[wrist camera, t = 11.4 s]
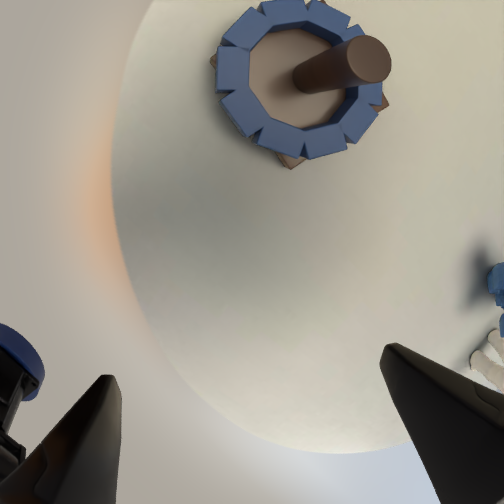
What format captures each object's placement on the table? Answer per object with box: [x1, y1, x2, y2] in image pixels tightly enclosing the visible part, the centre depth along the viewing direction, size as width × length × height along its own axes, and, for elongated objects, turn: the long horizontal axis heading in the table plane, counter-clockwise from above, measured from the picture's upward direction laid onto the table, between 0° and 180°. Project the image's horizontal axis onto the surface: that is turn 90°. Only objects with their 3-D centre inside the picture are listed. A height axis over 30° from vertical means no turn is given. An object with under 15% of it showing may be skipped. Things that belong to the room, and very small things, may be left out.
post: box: [210, 0, 391, 170], centre depth 13 cm, size 8×8×8 cm
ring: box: [215, 0, 382, 160], centre depth 15 cm, size 9×10×2 cm
